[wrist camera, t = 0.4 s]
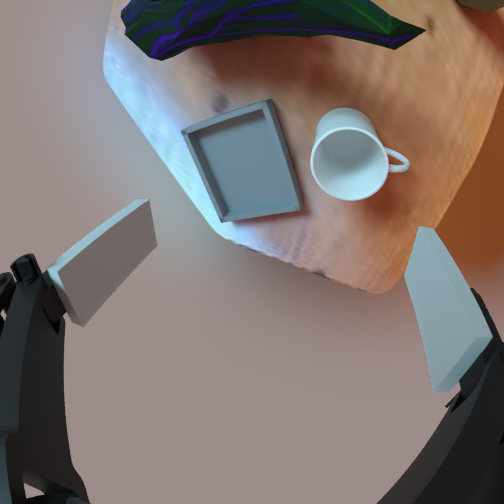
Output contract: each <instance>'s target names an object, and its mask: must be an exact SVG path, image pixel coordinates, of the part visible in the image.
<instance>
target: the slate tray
mask: <svg viewBox="0 0 504 504" xmlns="http://www.w3.org/2000/svg"><path fill="white" fill-rule="evenodd" d="M181 133H182V135H183V137H184V140H185V142H186V144H187V146H188V149H189V151H190V153H191V156H192V158H193V160H194V163H195V165H196V167H197V169H198V172H199V174H200V176H201V178H202V181H203V183H204V185H205V188H206V190H207V192H208V194H209V197H210V199H211V201H212V203H213V205H214V208H215V210H216V212H217V214H218V217H219V219H220V221H221V223H223V222H229V221H235V220H241V219H247V218H253V217H259V216H266V215H272V214H279V213H286V212H293V211H300V210H301V208H302V204H303V198H302V195H301V191H300V188H299V184H298V181H297V177H296V174H295V171H294V167H293V164H292V161H291V157H290V154H289V151H288V148H287V145H286V142H285V138H284V135H283V132H282V129H281V126H280V123H279V120H278V117H277V114H276V112H275V109H274V106H273V103H272V100H271V99H269V100H265V101H261V102H258V103H255V104H251V105H248V106H245V107H242V108H239V109H236V110H233V111H230V112H227V113H224V114H221V115H218V116H215V117H212V118H210V119H207V120H204V121H202V122H199V123H197V124H194V125H192V126H189V127H187V128H185V129H184V130H182V131H181Z"/></svg>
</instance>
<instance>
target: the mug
mask: <svg viewBox="0 0 504 504" xmlns="http://www.w3.org/2000/svg"><path fill="white" fill-rule="evenodd" d="M387 154H388V155H390V156H393V157H395V158H397V159H398V160H400V161H401V162H403V163H404V165H392V164H389V162H388V156H387ZM310 164H311V170H312V174H313V176H314V179H315V180H316V182H317V183H318V185H319V186H320V187H321V188H322V189H323V190H324V191H325V192H326V193H328V194H329V195H331V196H333V197H335V198H338V199H341V200H347V201H357V200H362V199H365V198H368V197H370V196H371V195H373V194H374V193H376V192H377V191H378V190H379V189H380V188H381V187H382V185H383V184H384V182H385V180H386V178H387V175H388V172H394V173H401V172H405V171H407V170H408V169H409V166H410V163H409V161H408V159H407V158H406V157H404V156H403V155H401V154H400V153H398V152H396V151H394V150H391V149H389V148H386V147H384V146H383V145H382V143H381V141H380V139H379V137H378V136H377V134H376V131H375V128H374V126H373V124H372V122H371V121H370V119H369V118H368V117H367V116H366V115H364V114H363V113H362V112H360V111H358V110H355V109H352V108H336V109H333V110H331V111H329V112H328V113H326V114H325V115H324V116H323V117H322V118H321V120H320V121H319V123H318V126H317V130H316V139H315V143H314V146H313V150H312V153H311V160H310Z"/></svg>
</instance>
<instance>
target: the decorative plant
mask: <svg viewBox="0 0 504 504" xmlns="http://www.w3.org/2000/svg"><path fill="white" fill-rule="evenodd" d="M120 17H121V19H122V21H123V23H124V25H125V27H126V31H125V35H126V36H127V37H128V38H129V39H130V40H131V41H132V42H133V43H135V44H136V45H137V46H138V47H139V48H140V49H141V50H142V51H143V52H144V53H145V54H146V55H147V56H148V57H149V58H153V59H157V60H161V61H163V60H165V59H168V58H171V57H174V56H176V55H178V54H180V53H182V52H183V51H185V50H187V49H189V48H191V47H193V46H199V45H205V44H212V43H220V42H227V41H232V40H237V39H243V38H250V37H256V36H264V35H279V36H301V37H311V36H319V35H333V36H339V37H344V38H349V39H354V40H359V41H363V42H367V43H371V44H375V45H379V46H383V47H386V48H390V49H393V50H395V49H397V48H399V47H401V46H402V45H404V44H406V43H407V42H409V41H411V40H412V39H414V38H415V37H417V36H418V35H420V34H422V33H423V32H425V31H426V30H425V29H422V28H420V27H417V26H414V25H412V24H409V23H406V22H403V21H401V20H399V19H397V18H395V17H393V16H390V15H389V14H388V13H386V12H385V11H384V10H382V9H381V8H380V7H378V6H377V5H376V4H374V3H373V2H372V1H370V0H131V1H130V3H129V4H128V5H127V6H126V7H125V8H124V9H123V10H122V11H121V16H120Z"/></svg>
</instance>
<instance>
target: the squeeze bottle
mask: <svg viewBox="0 0 504 504" xmlns="http://www.w3.org/2000/svg"><path fill="white" fill-rule="evenodd" d="M457 1H458V2H459V3H460V4H462V5H464V6H466V7H468V8H472V9H475V10H478V11H482V12H486V13H488V12H492V11H495V10H497V9H499V8H502V7H504V0H457Z"/></svg>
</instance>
